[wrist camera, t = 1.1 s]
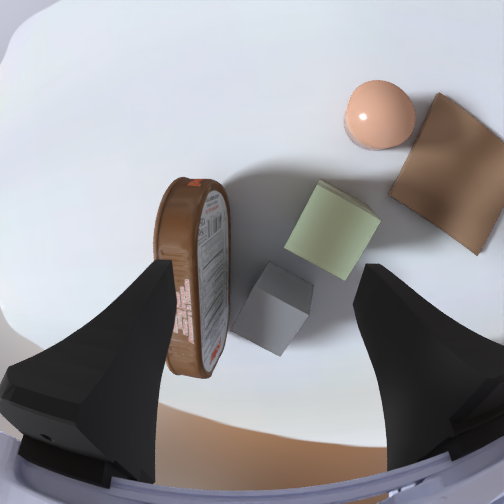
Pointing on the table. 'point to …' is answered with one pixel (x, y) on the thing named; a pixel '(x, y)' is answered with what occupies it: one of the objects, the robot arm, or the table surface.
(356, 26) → the table surface
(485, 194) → the walnut board
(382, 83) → the peach rounded capsule
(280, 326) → the grey block
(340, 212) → the green block
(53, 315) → the table surface
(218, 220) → the tin
